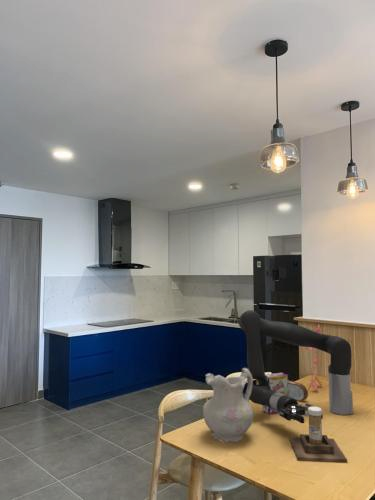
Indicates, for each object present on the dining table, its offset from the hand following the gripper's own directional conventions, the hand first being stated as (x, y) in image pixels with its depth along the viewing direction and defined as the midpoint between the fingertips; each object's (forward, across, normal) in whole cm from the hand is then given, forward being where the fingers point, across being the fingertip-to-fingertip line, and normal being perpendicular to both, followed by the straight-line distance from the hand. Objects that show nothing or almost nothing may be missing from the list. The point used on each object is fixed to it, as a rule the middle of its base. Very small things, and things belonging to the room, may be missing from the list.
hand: (312, 418), depth 134 cm
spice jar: (+1, 0, +10) cm, 10 cm away
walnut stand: (+1, 0, +10) cm, 11 cm away
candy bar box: (-36, +11, +11) cm, 39 cm away
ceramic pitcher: (-22, -21, +11) cm, 32 cm away
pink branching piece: (-51, +53, +11) cm, 74 cm away
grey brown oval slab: (-46, +30, +11) cm, 56 cm away
